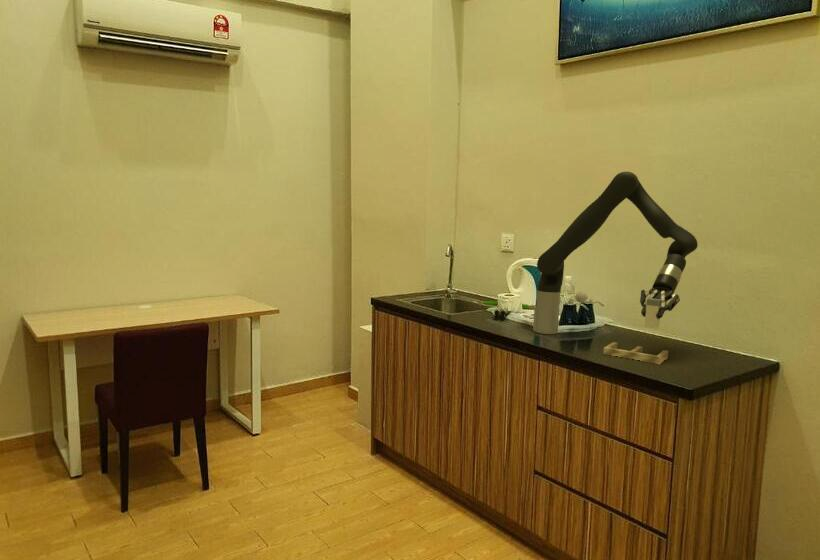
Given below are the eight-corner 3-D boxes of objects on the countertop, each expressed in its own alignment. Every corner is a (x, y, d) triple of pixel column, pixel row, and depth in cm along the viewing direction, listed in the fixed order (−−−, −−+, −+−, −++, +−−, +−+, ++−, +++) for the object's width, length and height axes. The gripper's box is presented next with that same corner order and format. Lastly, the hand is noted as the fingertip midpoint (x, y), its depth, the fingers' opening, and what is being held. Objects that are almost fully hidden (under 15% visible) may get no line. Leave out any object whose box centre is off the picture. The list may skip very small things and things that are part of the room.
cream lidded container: (644, 327, 226) (646, 299, 225) (647, 325, 229) (649, 297, 228) (656, 328, 224) (658, 300, 222) (659, 327, 227) (661, 299, 226)
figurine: (531, 324, 281) (537, 311, 309) (532, 311, 280) (537, 299, 309) (467, 319, 288) (478, 306, 317) (468, 305, 287) (479, 294, 316)
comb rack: (603, 354, 231) (603, 347, 230) (612, 348, 240) (613, 342, 240) (659, 364, 220) (660, 357, 219) (667, 357, 229) (668, 351, 229)
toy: (590, 323, 285) (593, 290, 283) (593, 326, 278) (596, 292, 276) (564, 322, 286) (567, 289, 284) (566, 325, 279) (569, 291, 277)
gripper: (645, 270, 234) (628, 306, 227) (685, 275, 224) (668, 313, 217) (650, 283, 239) (633, 319, 232) (689, 288, 229) (673, 326, 222)
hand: (650, 316), depth 225 cm, fingers closed on cream lidded container, 4 cm apart
